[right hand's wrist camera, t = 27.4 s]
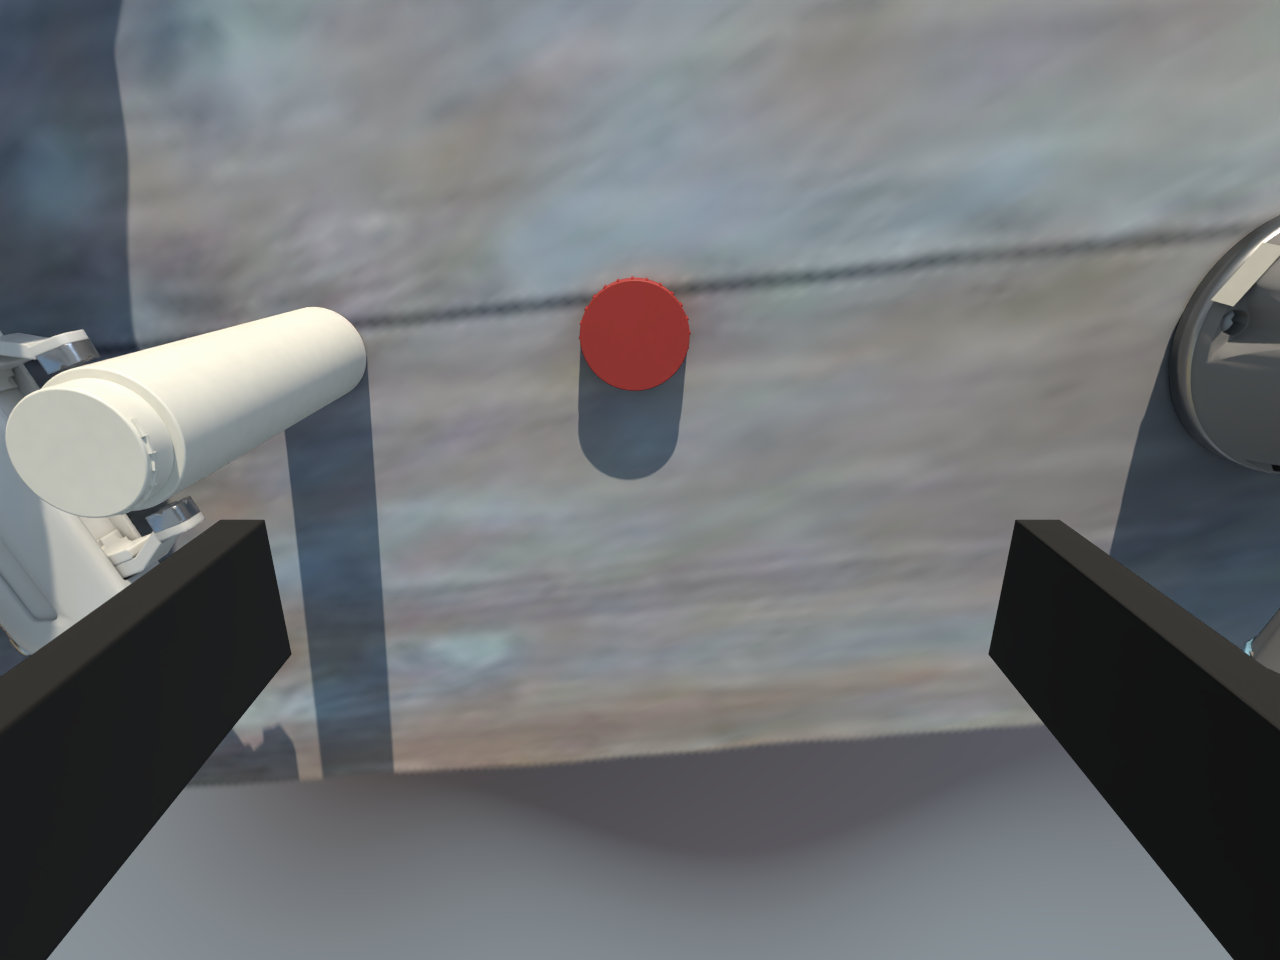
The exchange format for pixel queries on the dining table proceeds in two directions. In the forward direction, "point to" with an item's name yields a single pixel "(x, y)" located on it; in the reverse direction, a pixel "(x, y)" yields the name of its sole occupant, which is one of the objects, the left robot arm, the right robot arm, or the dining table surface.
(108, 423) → the jar
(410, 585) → the dining table surface
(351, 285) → the dining table surface
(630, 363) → the lid
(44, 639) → the left robot arm
